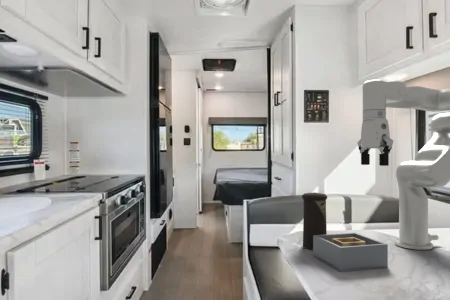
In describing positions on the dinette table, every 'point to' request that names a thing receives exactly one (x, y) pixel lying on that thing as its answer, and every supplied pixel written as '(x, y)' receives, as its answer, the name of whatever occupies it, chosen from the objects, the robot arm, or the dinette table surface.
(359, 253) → the grey crate
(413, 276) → the dinette table surface
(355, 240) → the wooden crate
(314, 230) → the container
